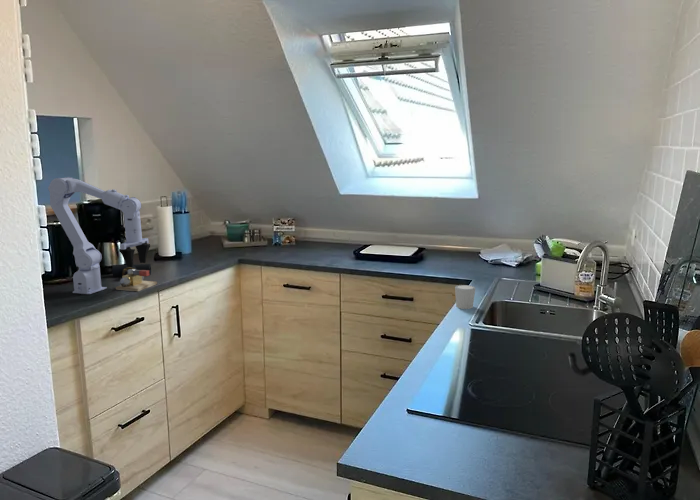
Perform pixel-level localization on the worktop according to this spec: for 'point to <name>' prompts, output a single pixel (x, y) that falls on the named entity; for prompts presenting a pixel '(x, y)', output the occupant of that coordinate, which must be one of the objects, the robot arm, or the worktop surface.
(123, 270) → the pipe connector
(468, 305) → the light grey cylinder
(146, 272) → the lever
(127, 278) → the valve body
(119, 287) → the board
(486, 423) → the worktop surface
